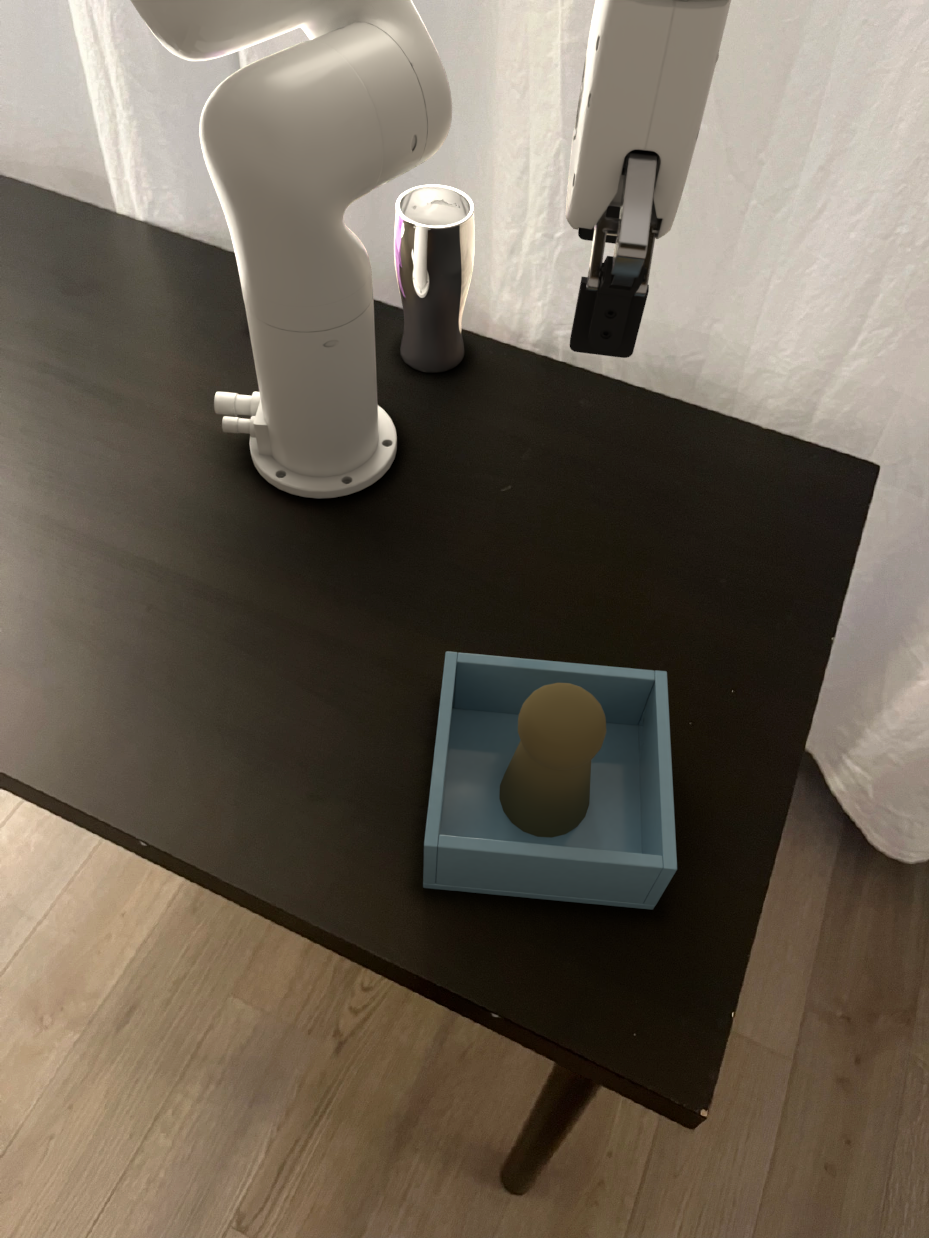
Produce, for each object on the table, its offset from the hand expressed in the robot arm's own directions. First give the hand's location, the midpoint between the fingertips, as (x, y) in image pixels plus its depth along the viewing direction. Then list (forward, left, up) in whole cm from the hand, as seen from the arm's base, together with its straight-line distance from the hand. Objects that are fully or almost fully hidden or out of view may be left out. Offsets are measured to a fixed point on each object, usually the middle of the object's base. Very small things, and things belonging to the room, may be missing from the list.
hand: (602, 292), depth 51 cm
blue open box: (0, -16, -28) cm, 33 cm away
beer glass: (-12, +29, -28) cm, 42 cm away
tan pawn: (0, -16, -28) cm, 32 cm away
